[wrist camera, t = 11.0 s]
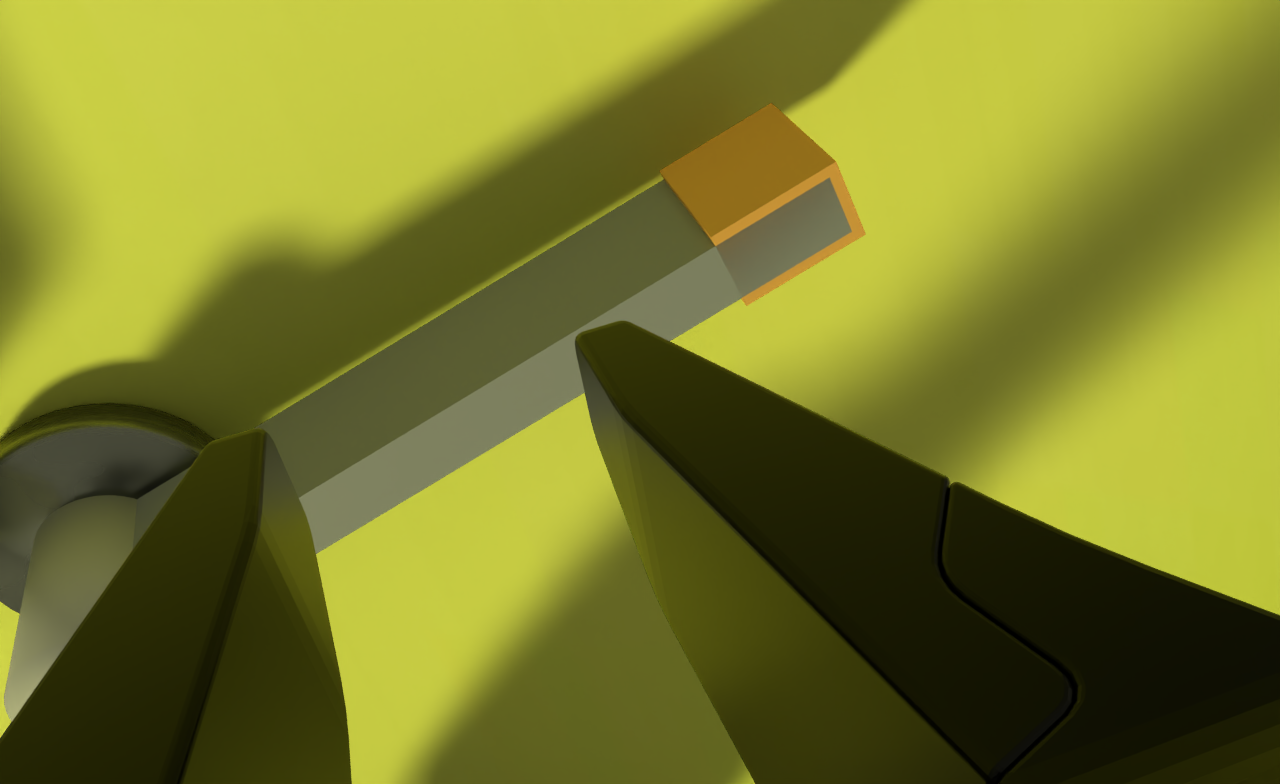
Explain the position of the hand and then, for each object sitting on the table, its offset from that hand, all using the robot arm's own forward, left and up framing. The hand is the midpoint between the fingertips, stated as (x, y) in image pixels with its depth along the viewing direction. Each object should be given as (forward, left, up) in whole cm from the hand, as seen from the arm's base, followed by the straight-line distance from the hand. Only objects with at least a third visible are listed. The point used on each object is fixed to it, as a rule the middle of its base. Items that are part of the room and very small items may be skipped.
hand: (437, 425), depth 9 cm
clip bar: (-7, 0, -12) cm, 14 cm away
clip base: (-9, +7, -13) cm, 17 cm away
